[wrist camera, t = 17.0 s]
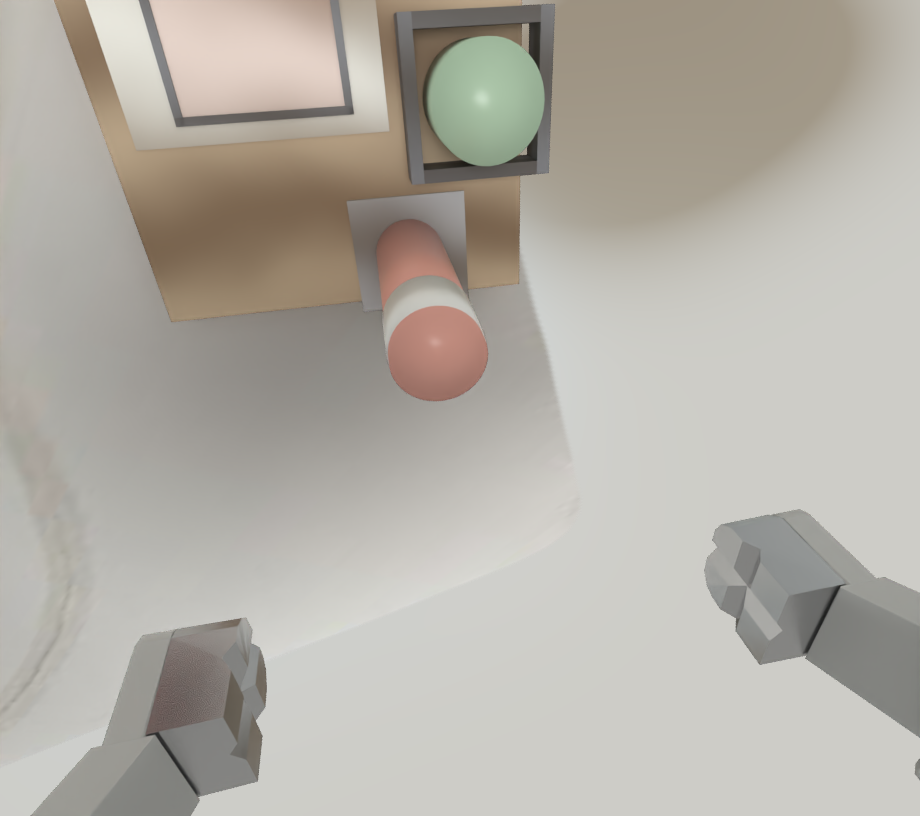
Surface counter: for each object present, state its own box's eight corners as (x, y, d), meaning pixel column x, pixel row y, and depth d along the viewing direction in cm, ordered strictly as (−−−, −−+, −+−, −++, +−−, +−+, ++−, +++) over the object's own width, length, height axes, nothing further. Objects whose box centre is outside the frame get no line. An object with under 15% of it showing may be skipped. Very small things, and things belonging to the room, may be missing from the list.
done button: (521, 149, 23) (542, 161, 21) (427, 157, 23) (436, 170, 20) (523, 33, 21) (546, 32, 19) (418, 40, 21) (428, 39, 18)
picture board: (528, 283, 28) (543, 303, 26) (181, 321, 26) (166, 347, 24) (541, -368, 17) (571, -431, 15) (-68, -384, 15) (-141, -459, 13)
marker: (418, 298, 26) (449, 417, 18) (361, 262, 25) (366, 373, 17) (457, 244, 25) (509, 345, 17) (400, 203, 24) (426, 290, 15)
